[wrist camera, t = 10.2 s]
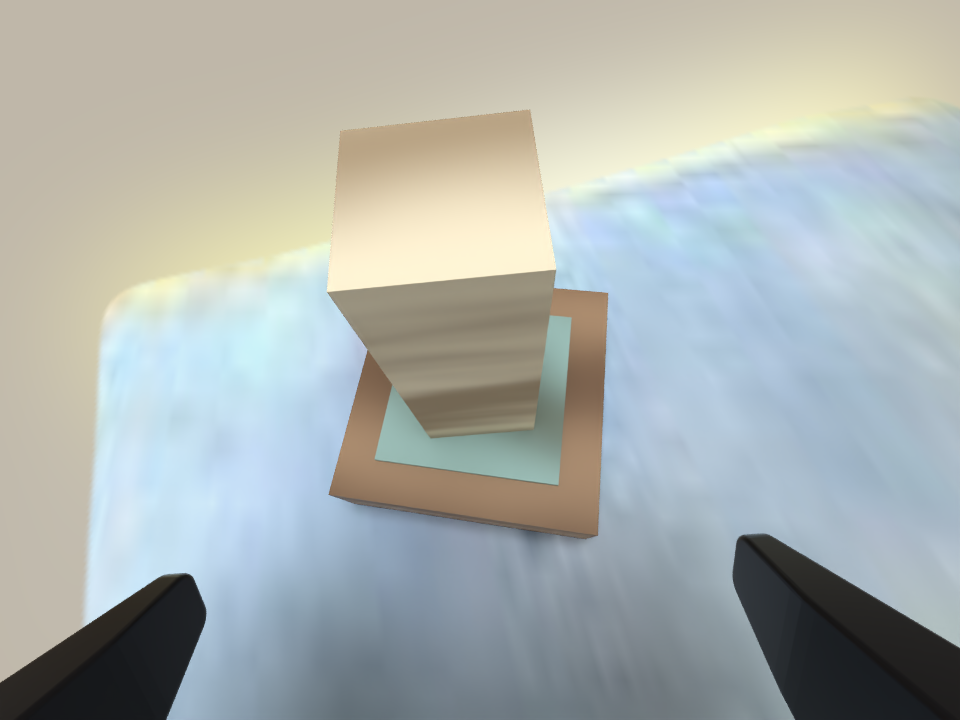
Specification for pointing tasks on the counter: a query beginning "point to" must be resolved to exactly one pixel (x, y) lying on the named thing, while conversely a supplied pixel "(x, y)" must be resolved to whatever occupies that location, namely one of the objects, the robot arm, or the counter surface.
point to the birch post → (447, 266)
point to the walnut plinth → (493, 442)
